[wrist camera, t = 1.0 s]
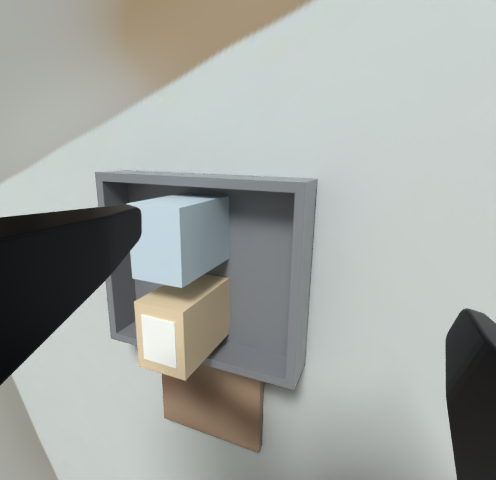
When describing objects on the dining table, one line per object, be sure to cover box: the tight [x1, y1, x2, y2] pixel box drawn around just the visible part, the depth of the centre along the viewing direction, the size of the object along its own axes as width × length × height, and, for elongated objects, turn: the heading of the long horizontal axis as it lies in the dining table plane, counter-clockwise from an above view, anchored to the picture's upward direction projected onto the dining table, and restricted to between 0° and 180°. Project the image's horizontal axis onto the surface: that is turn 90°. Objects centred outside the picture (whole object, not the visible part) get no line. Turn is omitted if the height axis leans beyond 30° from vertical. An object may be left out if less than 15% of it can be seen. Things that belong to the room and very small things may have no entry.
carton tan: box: [134, 274, 229, 381], centre depth 23 cm, size 4×4×6 cm
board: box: [162, 364, 264, 452], centre depth 28 cm, size 7×9×1 cm
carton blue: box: [127, 193, 229, 288], centre depth 22 cm, size 4×4×6 cm
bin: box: [95, 171, 317, 390], centre depth 24 cm, size 13×15×3 cm
